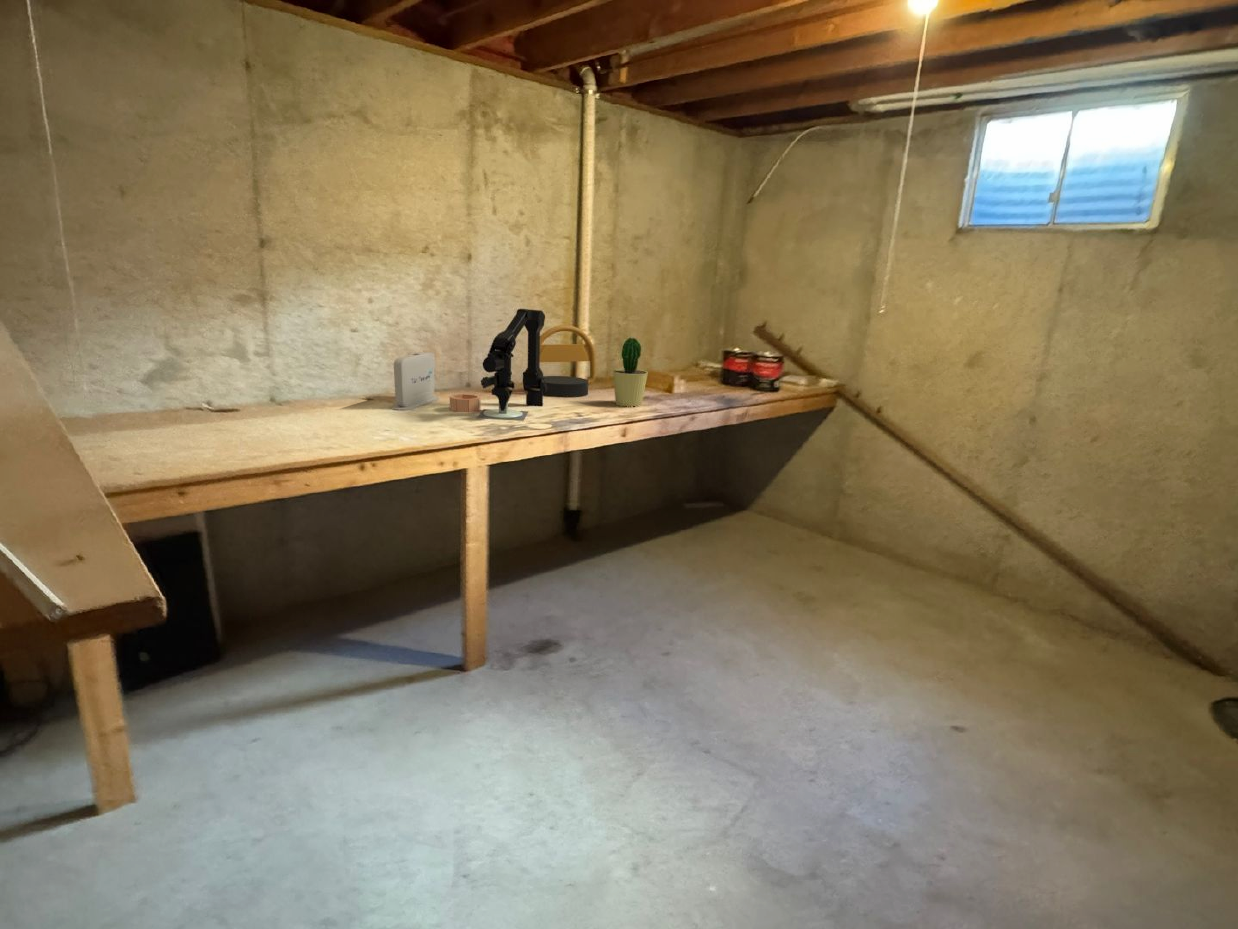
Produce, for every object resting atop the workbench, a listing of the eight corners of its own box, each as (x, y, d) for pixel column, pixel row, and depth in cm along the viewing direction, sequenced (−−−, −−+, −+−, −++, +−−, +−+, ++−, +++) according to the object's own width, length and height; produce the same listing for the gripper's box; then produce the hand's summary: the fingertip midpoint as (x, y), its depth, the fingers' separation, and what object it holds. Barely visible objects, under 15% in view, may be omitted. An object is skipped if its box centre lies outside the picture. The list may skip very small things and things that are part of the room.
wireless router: (408, 411, 266) (406, 359, 260) (384, 409, 267) (382, 357, 262) (444, 398, 295) (443, 351, 290) (422, 396, 297) (421, 349, 292)
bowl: (482, 408, 279) (482, 394, 277) (477, 413, 268) (477, 399, 266) (454, 406, 279) (454, 393, 277) (447, 412, 268) (447, 398, 266)
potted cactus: (627, 409, 294) (631, 338, 286) (604, 403, 305) (607, 334, 297) (653, 406, 304) (657, 337, 296) (629, 400, 315) (633, 334, 307)
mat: (528, 412, 276) (528, 411, 276) (523, 421, 259) (523, 420, 258) (483, 410, 275) (483, 408, 275) (475, 419, 258) (475, 418, 258)
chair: (606, 395, 323) (610, 327, 315) (539, 399, 305) (541, 327, 297) (581, 387, 344) (584, 322, 335) (516, 389, 325) (517, 322, 317)
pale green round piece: (524, 411, 274) (524, 397, 273) (520, 419, 260) (520, 404, 258) (487, 409, 274) (487, 395, 272) (480, 417, 259) (480, 402, 258)
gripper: (486, 365, 271) (486, 404, 275) (477, 372, 253) (477, 413, 257) (514, 366, 271) (514, 405, 275) (508, 373, 253) (507, 415, 257)
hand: (503, 409), depth 266 cm, fingers closed on pale green round piece, 3 cm apart
